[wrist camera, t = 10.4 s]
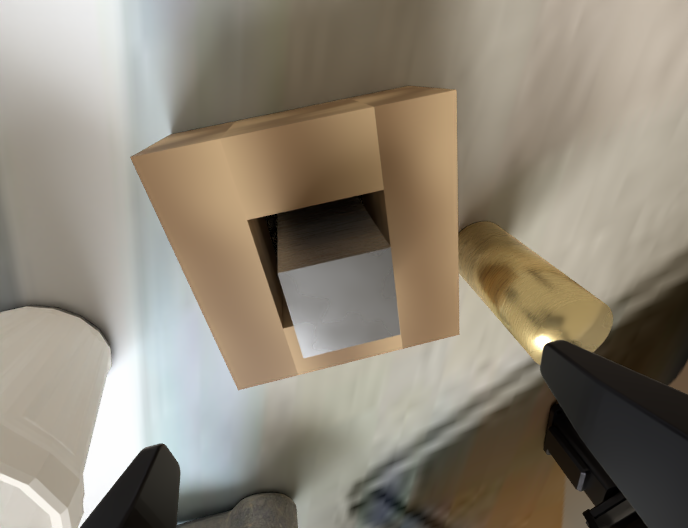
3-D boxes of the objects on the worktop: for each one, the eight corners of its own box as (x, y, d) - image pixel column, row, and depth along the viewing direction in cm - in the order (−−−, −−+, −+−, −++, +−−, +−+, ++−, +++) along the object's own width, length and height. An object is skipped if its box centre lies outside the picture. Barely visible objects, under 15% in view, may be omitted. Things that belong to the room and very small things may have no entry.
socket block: (408, 85, 16) (456, 89, 12) (422, 282, 22) (459, 334, 17) (170, 134, 16) (130, 157, 11) (246, 325, 21) (238, 390, 17)
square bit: (346, 180, 18) (390, 247, 11) (357, 243, 20) (400, 334, 13) (277, 195, 18) (277, 273, 11) (294, 257, 20) (303, 358, 13)
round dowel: (505, 214, 20) (620, 289, 13) (504, 265, 22) (605, 355, 15) (447, 230, 20) (532, 313, 13) (451, 279, 22) (528, 376, 15)
